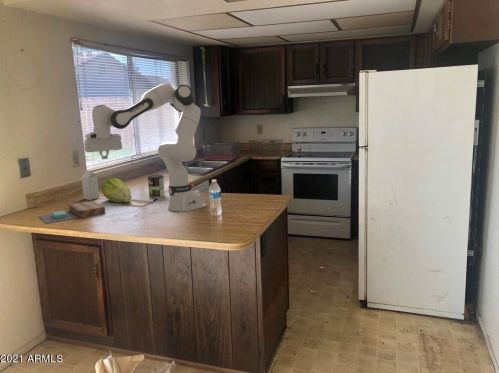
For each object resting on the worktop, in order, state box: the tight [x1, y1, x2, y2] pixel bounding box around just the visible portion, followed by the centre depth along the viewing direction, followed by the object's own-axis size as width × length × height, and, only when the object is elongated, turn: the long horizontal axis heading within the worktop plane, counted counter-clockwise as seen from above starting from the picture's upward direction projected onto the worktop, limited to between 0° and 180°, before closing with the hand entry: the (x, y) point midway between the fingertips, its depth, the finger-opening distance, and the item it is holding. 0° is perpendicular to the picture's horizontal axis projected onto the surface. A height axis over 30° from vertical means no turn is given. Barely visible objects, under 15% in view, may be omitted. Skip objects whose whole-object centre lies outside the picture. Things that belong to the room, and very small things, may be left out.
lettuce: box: [101, 177, 132, 203], centre depth 273 cm, size 15×24×16 cm
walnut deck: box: [68, 200, 106, 219], centre depth 246 cm, size 14×22×4 cm, turn 37°
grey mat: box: [38, 210, 78, 224], centre depth 237 cm, size 16×20×1 cm
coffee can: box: [147, 174, 165, 199], centre depth 283 cm, size 10×10×14 cm
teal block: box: [51, 210, 67, 219], centre depth 238 cm, size 6×9×2 cm, turn 37°
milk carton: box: [81, 169, 100, 201], centre depth 283 cm, size 7×7×19 cm
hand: (104, 159), depth 239 cm, fingers closed
